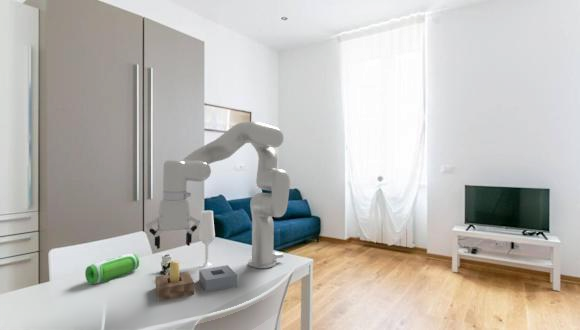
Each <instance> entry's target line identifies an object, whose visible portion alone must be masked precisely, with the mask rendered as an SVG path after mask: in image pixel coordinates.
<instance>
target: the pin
mask: <svg viewBox="0 0 580 330" xmlns="http://www.w3.org/2000/svg"><path fill="white" fill-rule="evenodd" d="M171 261H172V260H171ZM179 273H180V260H173V261H172V262H170V283H171V282H177V281H179Z"/></svg>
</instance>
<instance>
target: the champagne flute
mask: <svg viewBox="0 0 580 330" xmlns="http://www.w3.org/2000/svg"><path fill="white" fill-rule="evenodd" d="M200 212H201V214H200V220H199V221H200V223H199V232H198V239H199V241H200V242H201V243H203V244H204V245H205V258H204V259H205V260H204V263H203V264H201V265H200V266H199V267H210V266H212V265H213V264H212V263H210V262H209V245H210V244H211V243H212V242H213V241H214V240H215V238H216V231H215V224H214V223H215V222H214V221H215V220H214V211H213V210H210V209H209V210H208V209H207V210H201V211H200Z"/></svg>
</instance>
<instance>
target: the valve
mask: <svg viewBox="0 0 580 330" xmlns="http://www.w3.org/2000/svg"><path fill="white" fill-rule="evenodd" d="M170 262H172V254H168V253H167V254H166V253H165V254H163V255H162V256H161V262H160V266H161V270H160V271H159V274H160V275H169V274H170Z"/></svg>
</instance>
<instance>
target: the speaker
mask: <svg viewBox="0 0 580 330" xmlns="http://www.w3.org/2000/svg"><path fill="white" fill-rule="evenodd" d="M139 267H140V258H139V256H138V255H137V254H135V253H127V254H123V255H119V256H115V257H112V258H108V259H105V260H100V261H98V262H95V263H92V264H90V265H87V267H86V269H85V272H84V275H85V280H86V281H87V283H88V284H90V285H94V284H95V285H96V284H99V283H104V282H109V281H111V280H115V279H117V278H121V277H123V276H127V275H128V274H130V273H132V272H134V271H136V270H138V268H139Z"/></svg>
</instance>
